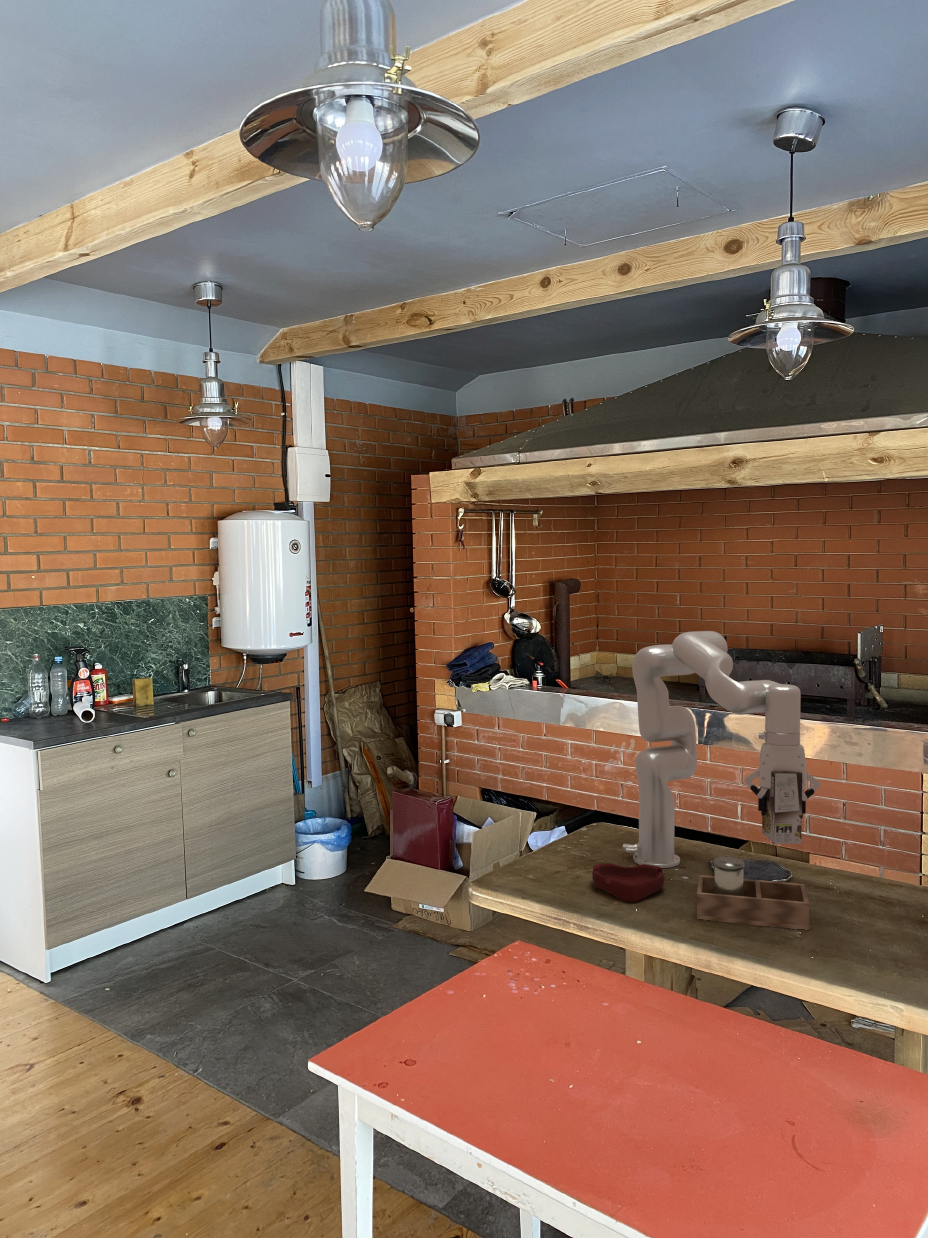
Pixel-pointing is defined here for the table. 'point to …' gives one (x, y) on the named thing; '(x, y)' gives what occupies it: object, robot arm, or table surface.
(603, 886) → the ashtray
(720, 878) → the tea tin
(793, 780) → the coffee box
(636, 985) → the table surface
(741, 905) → the caddy
